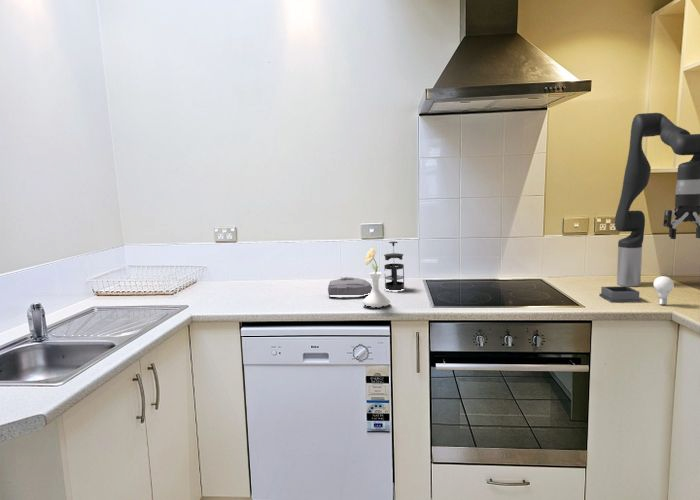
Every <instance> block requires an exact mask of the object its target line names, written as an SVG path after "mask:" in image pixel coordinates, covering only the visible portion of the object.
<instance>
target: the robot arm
mask: <svg viewBox="0 0 700 500" xmlns="http://www.w3.org/2000/svg"><path fill="white" fill-rule="evenodd" d="M630 127H631V128H630V140H629V148H628V156H627V160H626V165H625V170H624V175H623V182H622V187H621V194H620V198H619V203H618V206H617V210H616V213H615V216H614V218H615V219H614V228H615V230H616V231H617V232H620V233H621V232H624V233H625V232H630V234H629V235H628V236H626V237H624V238H620V239H619V240H617V241H618V242H617V265H616V266H617V270H616V271H617V272H616V284H617V285H618V286H628V287H639V286H641V283H642V282H641V281H642V280H641V279H642V278H641V277H642V260H643V258H642V256H643V243H644V235H645V227H646V226H645V225H646V218H645V216H646V215H645V213H644V212H643V211H642V210H630V208H631V206H632V204H633V202H634V201H635V200H636V199H637V198H638V197H639V195H641V193H642V192H643V191H644V190H645V188H646V187H647V186H648V184H649V182H650V176H651V171H652V169H651V168H652V167H651V165H650V162H649V160H648V158H647V156H646V155H645V153H644V150H643V138H646V137H647V138H649V137H657V136H659V137H660V141H662V143H663V144H664V145H666V146H668V147H670V148H671V149H672V152H673V153H674V154H675V155H678V156H692V157H691V159H690V160H688V161H685V162H681V163H679V164H678V166H677V172H676V173H677V177H676V178H677V180H676V184H675V197H674V198H675V199H674V209H672V210H671V209H665V210H664V216H663V225H662V226H663V227H667V228H668V237H669V238H670V239H671V240H676V239H677V227H678V226H679V225H680V224H682V223H686V222H692V223H694V225H695V226H696V229H695V238H696V239H700V133H694V134H693V133H692V134H691V132H690V131H688V130H687V129H685V128H683V127H681V126H678V125H676V124H675V123H673V121H671V119H669V118H668V117H667V116H666V115H665V114H663V113H661V112H649V113H648V112H645V113H644V112H643V113H637V114H636V115H634V117H633V119H632V122H631V126H630ZM673 216H675V217H673Z"/></svg>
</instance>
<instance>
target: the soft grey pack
mask: <svg viewBox="0 0 700 500" xmlns="http://www.w3.org/2000/svg"><path fill="white" fill-rule="evenodd" d="M372 291H373V285H372V284H371V283H370V282H369V281H367V280H366V279H364V278H363V279H362V278H360V277H359V278H358V277H348V276H346V277H340V278H337V279H334V280H333V279H332V280H330V281H329V284H328V287H327V292H328V296H329V295H364V294H368V293H370V292H372Z"/></svg>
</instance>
